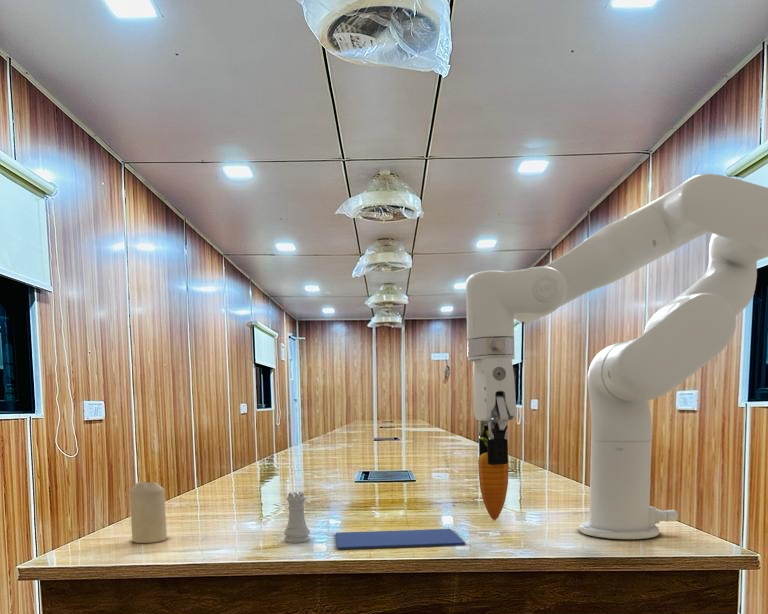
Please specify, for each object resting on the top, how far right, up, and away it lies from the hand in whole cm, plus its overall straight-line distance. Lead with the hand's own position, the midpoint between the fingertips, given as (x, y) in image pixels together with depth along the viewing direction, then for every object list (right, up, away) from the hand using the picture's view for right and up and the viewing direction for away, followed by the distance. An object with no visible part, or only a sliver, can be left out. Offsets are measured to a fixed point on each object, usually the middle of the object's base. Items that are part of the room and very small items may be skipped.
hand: (493, 461), depth 109 cm
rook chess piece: (-32, -13, 0) cm, 35 cm away
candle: (-58, -13, +3) cm, 59 cm away
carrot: (0, -10, +1) cm, 10 cm away
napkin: (-16, -13, 0) cm, 20 cm away
